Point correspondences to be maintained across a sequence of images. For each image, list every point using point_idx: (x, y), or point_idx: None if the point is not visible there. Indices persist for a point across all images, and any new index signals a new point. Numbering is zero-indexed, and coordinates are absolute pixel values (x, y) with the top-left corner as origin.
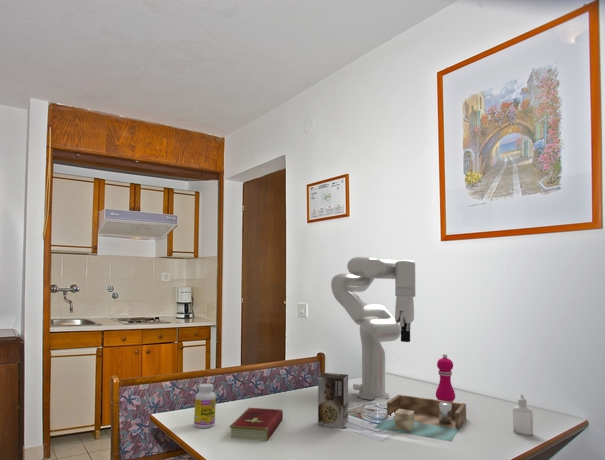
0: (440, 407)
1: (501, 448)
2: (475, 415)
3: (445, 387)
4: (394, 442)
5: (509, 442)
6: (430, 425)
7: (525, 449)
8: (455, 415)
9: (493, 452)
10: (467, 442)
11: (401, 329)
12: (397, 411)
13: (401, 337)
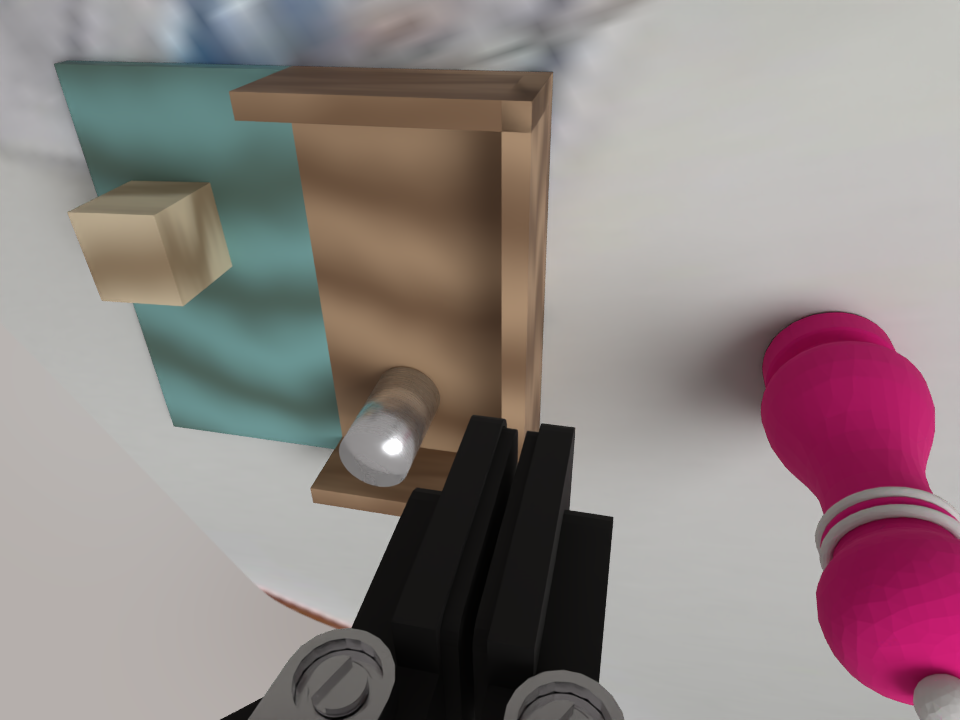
0: (351, 425)
1: (274, 553)
2: (690, 506)
3: (797, 462)
4: (24, 210)
5: (354, 580)
6: (309, 335)
7: (317, 608)
8: (317, 478)
9: (218, 530)
10: (252, 466)
11: (289, 686)
12: (98, 221)
13: (449, 484)
